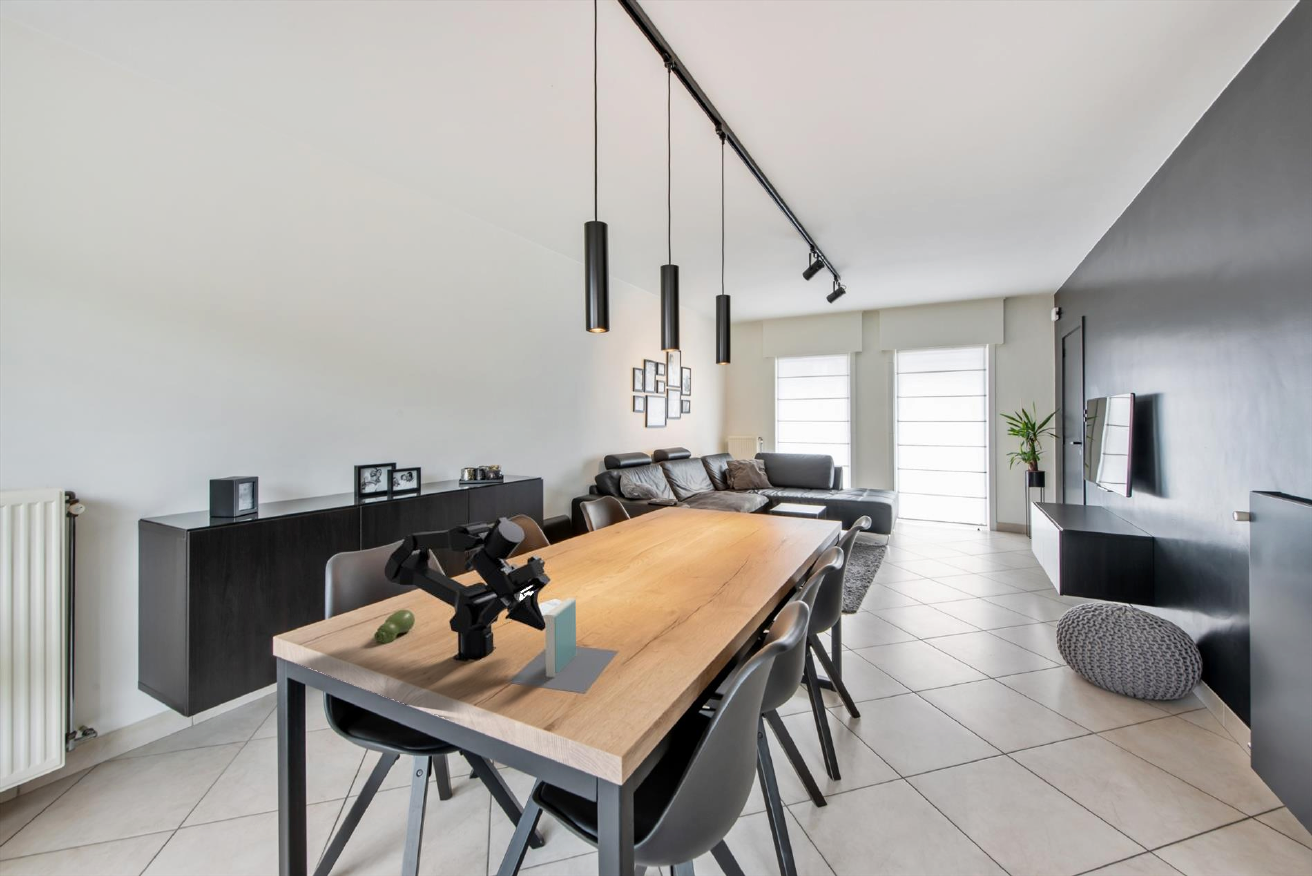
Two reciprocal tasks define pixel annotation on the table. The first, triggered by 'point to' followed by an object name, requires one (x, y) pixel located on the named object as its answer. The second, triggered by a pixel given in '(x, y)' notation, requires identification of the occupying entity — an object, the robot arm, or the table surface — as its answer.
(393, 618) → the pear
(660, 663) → the table surface
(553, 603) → the external hard drive
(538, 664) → the mat
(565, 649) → the tile
